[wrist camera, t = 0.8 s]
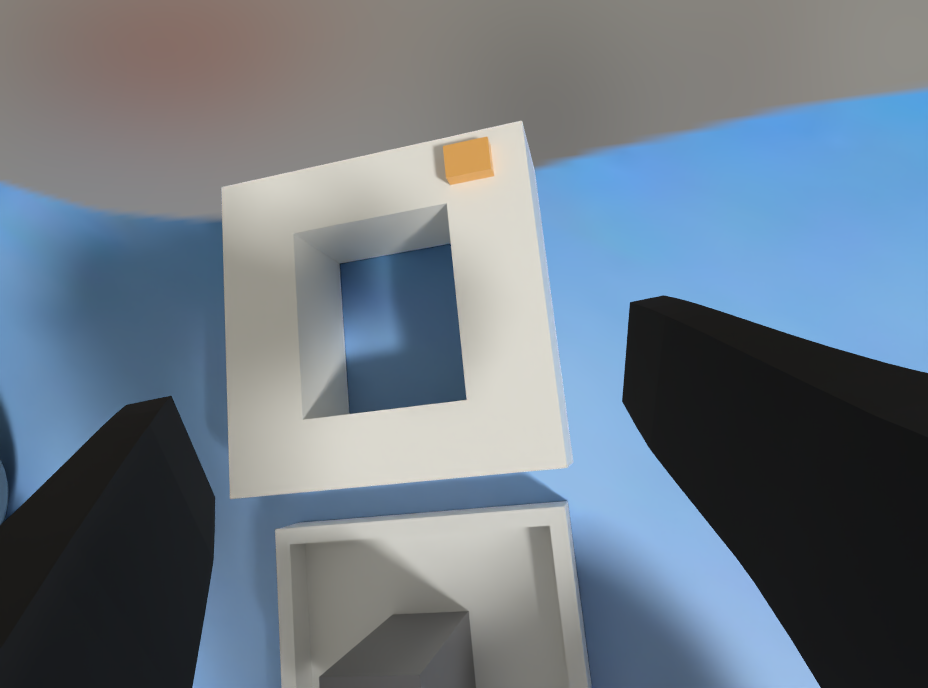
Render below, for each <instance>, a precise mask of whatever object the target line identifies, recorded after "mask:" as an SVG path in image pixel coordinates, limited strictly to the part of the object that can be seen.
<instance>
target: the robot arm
mask: <svg viewBox="0 0 928 688" xmlns="http://www.w3.org/2000/svg"><path fill="white" fill-rule="evenodd" d="M622 402H623V404H624V405H625V407H626V409H627V411H628V413H629V414H630V416H631V418H632V420H633V422H634V423H635V425H636V427H637V429H638V430H639V432H640V433H641V435H642V437H643V438H644V440H645V442H646V443H647V445H648V447H649V448H650V450H651V451H652V452H653V454H654V455H655V456H656V458H657V459H658V460H659V461H660V463H661V464H662V465H663V467H664V468H665V469H666V470H667V472H668V473H669V474H670V475H671V477H672V478H673V479H674V481H675V482H676V483H677V484H678V486H679V487H680V488H681V489H682V491H683V492H684V493H685V494H686V496H687V497H688V498H689V499H690V501H691V502H692V503H693V504H694V506H695V507H696V508H697V509H698V511H699V512H700V513H701V514H702V516H703V517H704V518H705V519H706V521H707V522H708V523H709V524H710V526H711V527H712V528H713V529H714V531H715V532H716V533H717V534H718V536H719V537H720V538H721V539H722V541H723V542H724V543H725V544H726V546H727V547H728V548H729V549H730V550H731V552H732V553H733V554H734V555H735V557H736V558H737V560H738V561H739V562H740V564H741V565H742V566H743V568H744V569H745V570H746V572H747V573H748V574H749V576H750V577H751V579H752V580H753V581H754V583H755V584H756V586H757V587H758V589H759V590H760V592H761V594H762V595H763V597H764V598H765V600H766V601H767V603H768V604H769V606H770V607H771V609H772V610H773V612H774V614H775V615H776V617H777V618H778V620H779V621H780V623H781V624H782V626H783V627H784V629H785V630H786V632H787V634H788V635H789V637H790V638H791V640H792V641H793V643H794V645H795V646H796V648H797V649H798V651H799V653H800V654H801V656H802V658H803V659H804V661H805V663H806V664H807V666H808V667H809V669H810V671H811V672H812V674H813V676H814V677H815V679H816V681H817V682H818V684H819V685H820V687H821V688H928V373H925V372H920V371H916V370H912V369H908V368H904V367H900V366H896V365H892V364H888V363H884V362H881V361H877V360H874V359H870V358H867V357H863V356H860V355H856V354H853V353H849V352H846V351H842V350H839V349H835V348H832V347H828V346H825V345H822V344H819V343H816V342H812V341H809V340H806V339H803V338H800V337H796V336H793V335H790V334H787V333H784V332H781V331H778V330H775V329H772V328H769V327H766V326H763V325H760V324H757V323H754V322H751V321H748V320H745V319H742V318H739V317H736V316H733V315H730V314H727V313H724V312H721V311H718V310H715V309H712V308H708V307H705V306H702V305H699V304H696V303H692V302H689V301H685V300H681V299H677V298H673V297H668V296H659V297H654V298H649V299H644V300H639V301H634V302H630V309H629V322H628V335H627V348H626V360H625V373H624V386H623V398H622ZM214 533H215V496H214V494H213V492H212V489H211V487H210V485H209V482H208V480H207V478H206V475H205V473H204V471H203V468H202V466H201V464H200V461H199V459H198V457H197V454H196V452H195V450H194V447H193V445H192V443H191V440H190V438H189V436H188V433H187V431H186V429H185V427H184V424H183V422H182V420H181V417H180V415H179V413H178V410H177V408H176V406H175V403H174V401H173V399H172V396H168V397H163V398H158V399H153V400H148V401H143V402H139V403H134V404H129V405H126V406H125V407H123V408H122V409H121V410H120V411H119V412H117V413H116V414H115V415H114V416H113V417H112V418H111V419H110V420H109V421H107V422H106V423H105V424H104V425H103V426H102V427H101V428H100V429H99V430H98V431H97V432H96V433H95V434H94V435H93V436H92V437H91V438H90V439H89V440H88V441H87V442H86V443H85V444H84V445H83V446H82V447H81V448H80V449H79V450H78V451H77V452H76V453H75V454H74V455H73V456H72V457H71V458H70V459H69V460H68V461H67V462H66V463H65V464H64V465H63V466H61V467H60V468H59V469H58V470H57V471H56V472H55V473H54V474H53V475H52V476H51V477H50V478H49V479H48V480H47V481H46V482H45V483H44V484H43V485H42V486H41V487H40V488H39V489H38V490H37V491H36V492H35V493H34V494H33V495H32V496H31V497H30V498H29V499H28V500H27V501H26V502H25V503H24V504H23V505H22V506H21V507H20V508H18V509H17V510H16V511H15V512H14V513H13V514H12V515H11V516H10V517H9V518H8V519H7V520H6V521H4V522H3V523H2V524H1V525H0V688H192V686H193V680H194V674H195V668H196V663H197V657H198V651H199V645H200V639H201V633H202V627H203V621H204V616H205V610H206V603H207V597H208V591H209V585H210V579H211V572H212V566H213V558H214Z"/></svg>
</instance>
